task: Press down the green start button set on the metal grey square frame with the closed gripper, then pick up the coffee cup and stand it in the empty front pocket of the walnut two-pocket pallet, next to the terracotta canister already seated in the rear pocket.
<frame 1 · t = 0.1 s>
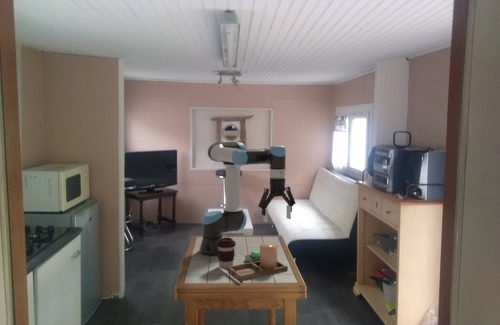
hand: (277, 220, 190), 28 cm above the table, fingers open, 13 cm apart
clay canister: (268, 268, 198), point 1 cm above the table, touching pallet
grey square frame: (255, 263, 208), on the table
start button: (255, 254, 208), point 5 cm above the table, slide at 0.0 cm
coffee cup: (226, 267, 203), on the table
pallet: (257, 272, 195), on the table
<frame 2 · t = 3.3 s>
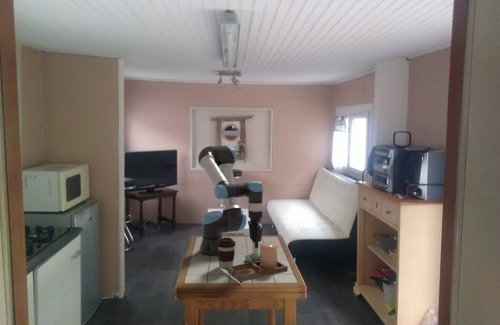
hand: (255, 253, 208), 6 cm above the table, fingers closed
start button: (255, 256, 208), point 4 cm above the table, slide at 0.8 cm, touching gripper
everything else where it was.
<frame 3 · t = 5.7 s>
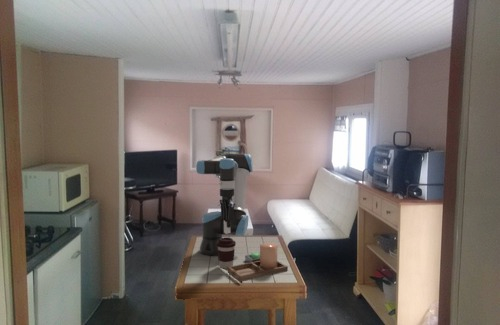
hand: (227, 232, 202), 18 cm above the table, fingers closed
start button: (255, 256, 208), point 4 cm above the table, slide at 1.1 cm
everything else where it was.
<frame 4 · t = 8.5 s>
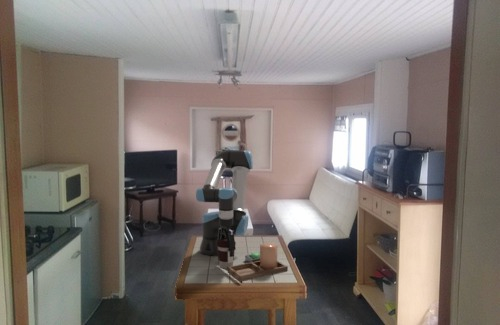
hand: (226, 259, 203), 4 cm above the table, fingers closed on coffee cup, 10 cm apart
coffee cup: (226, 267, 203), on the table, touching gripper
everything else where it was.
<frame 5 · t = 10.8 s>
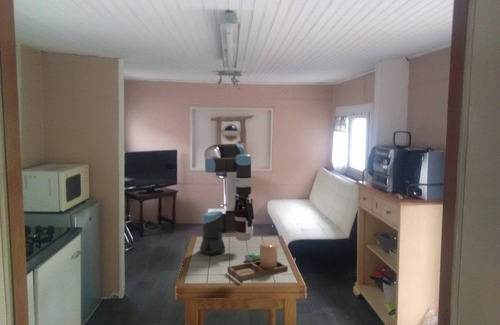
hand: (243, 230, 191), 22 cm above the table, fingers closed on coffee cup, 10 cm apart
coffee cup: (243, 239, 191), point 18 cm above the table, touching gripper
everything else where it was.
when the fingers open (7 cm above the table, at t = 13.3 s): coffee cup drops 1 cm, resting on pallet.
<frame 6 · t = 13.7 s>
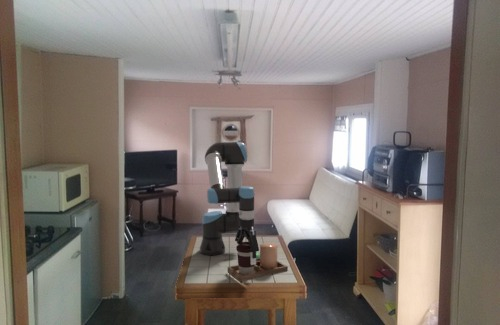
hand: (246, 260, 191), 8 cm above the table, fingers open, 13 cm apart
coffee cup: (246, 273, 192), point 1 cm above the table, touching pallet
everything else where it was.
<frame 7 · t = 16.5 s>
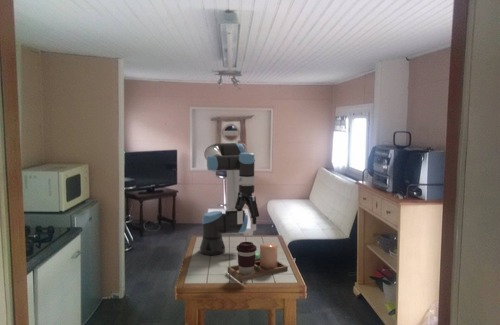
hand: (246, 227, 190), 24 cm above the table, fingers open, 13 cm apart
nothing on the table moved.
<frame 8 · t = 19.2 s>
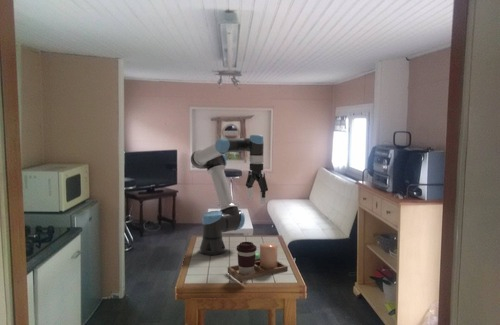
hand: (256, 201, 212), 33 cm above the table, fingers open, 13 cm apart
nothing on the table moved.
at the end: coffee cup 0.1 cm from the target spot on the pallet, point 1.0 cm above the pallet's base; coffee cup tilted 0°; coffee cup touching pallet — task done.
